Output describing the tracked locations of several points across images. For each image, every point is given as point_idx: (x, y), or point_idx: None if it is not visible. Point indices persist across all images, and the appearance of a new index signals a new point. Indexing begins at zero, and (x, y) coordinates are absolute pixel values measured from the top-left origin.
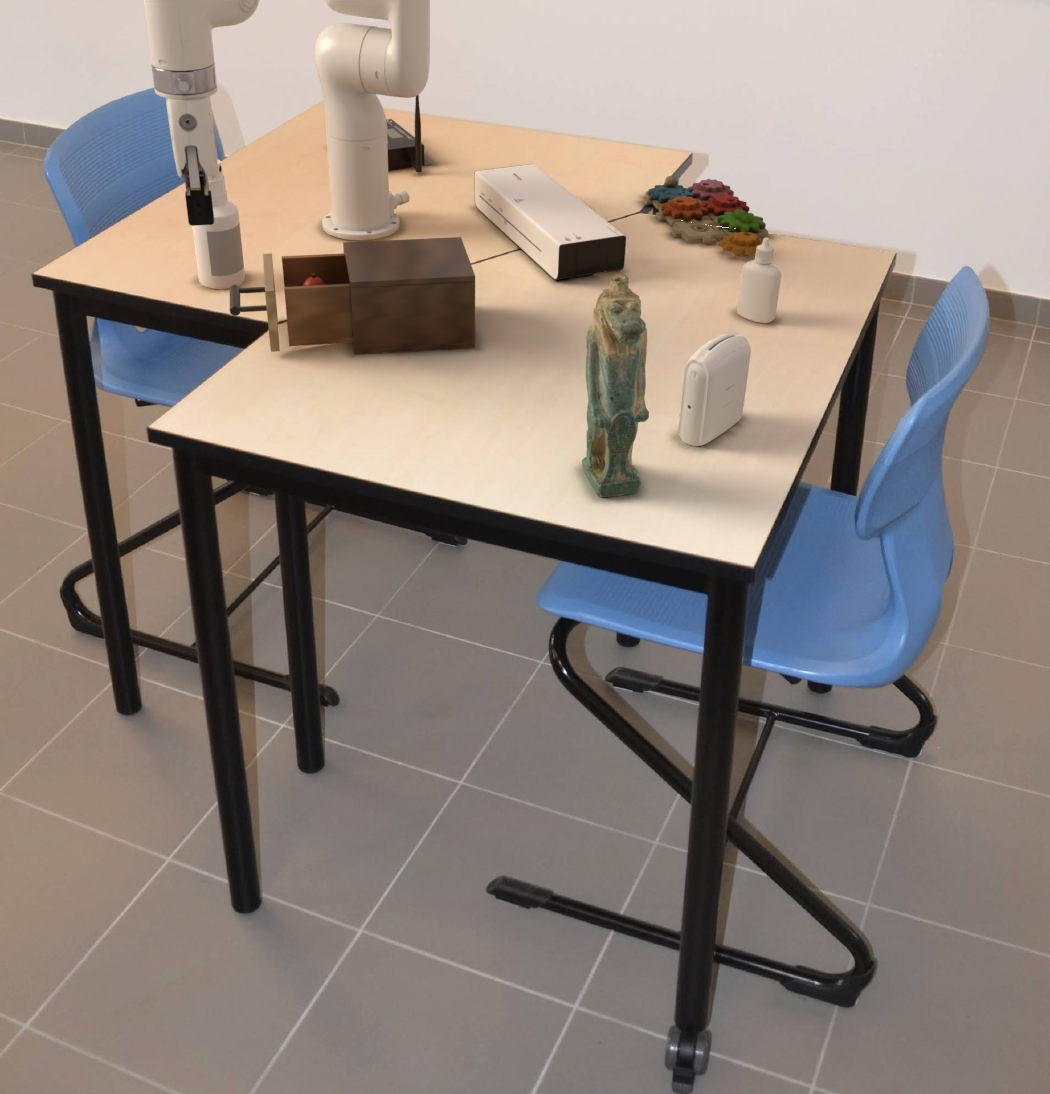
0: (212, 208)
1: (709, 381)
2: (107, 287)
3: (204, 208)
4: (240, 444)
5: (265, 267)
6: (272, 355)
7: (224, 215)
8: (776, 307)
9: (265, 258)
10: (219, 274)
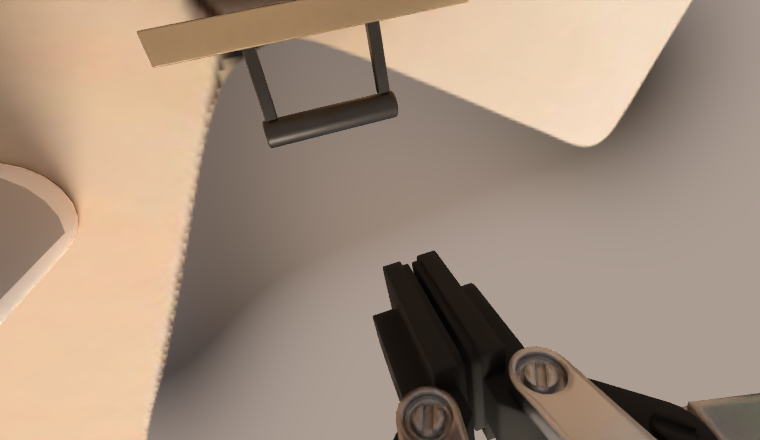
0: (460, 291)
1: None
2: (151, 377)
3: (498, 317)
4: (672, 16)
5: (282, 34)
6: None
7: None
8: None
9: (199, 49)
10: (55, 217)
